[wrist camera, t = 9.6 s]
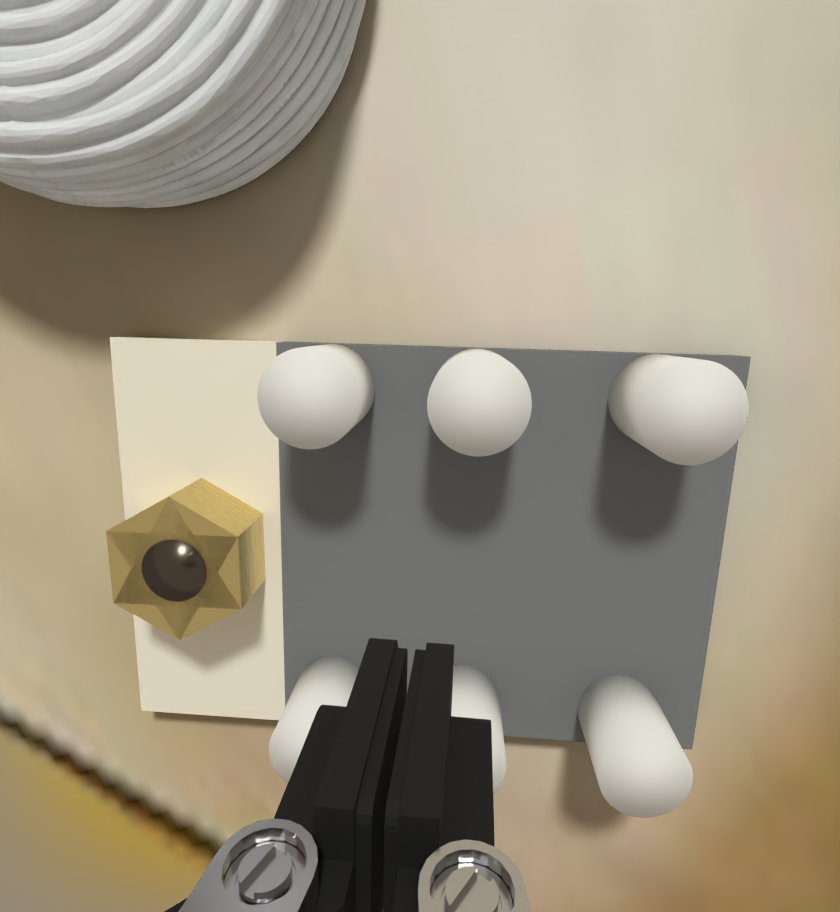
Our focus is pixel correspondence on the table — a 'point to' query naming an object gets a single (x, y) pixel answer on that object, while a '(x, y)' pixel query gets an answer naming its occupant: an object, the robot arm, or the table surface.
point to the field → (451, 533)
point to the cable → (162, 93)
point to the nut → (188, 559)
